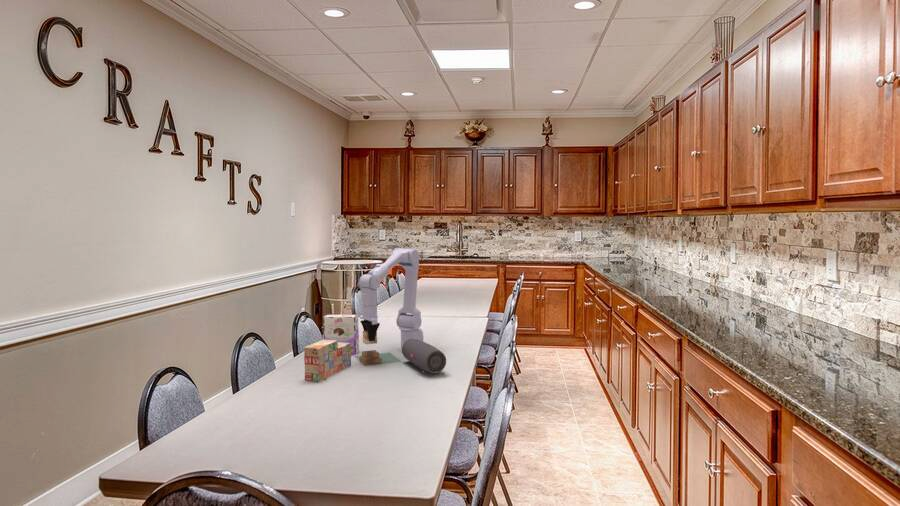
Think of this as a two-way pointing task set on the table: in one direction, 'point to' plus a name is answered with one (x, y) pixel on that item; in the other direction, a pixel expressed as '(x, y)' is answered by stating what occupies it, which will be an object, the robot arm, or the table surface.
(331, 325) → the candy box
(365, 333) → the oak block
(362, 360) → the tower base
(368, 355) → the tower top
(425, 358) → the bluetooth speaker
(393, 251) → the robot arm
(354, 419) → the table surface
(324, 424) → the table surface
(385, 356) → the cutting mat
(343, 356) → the stack of blocks
